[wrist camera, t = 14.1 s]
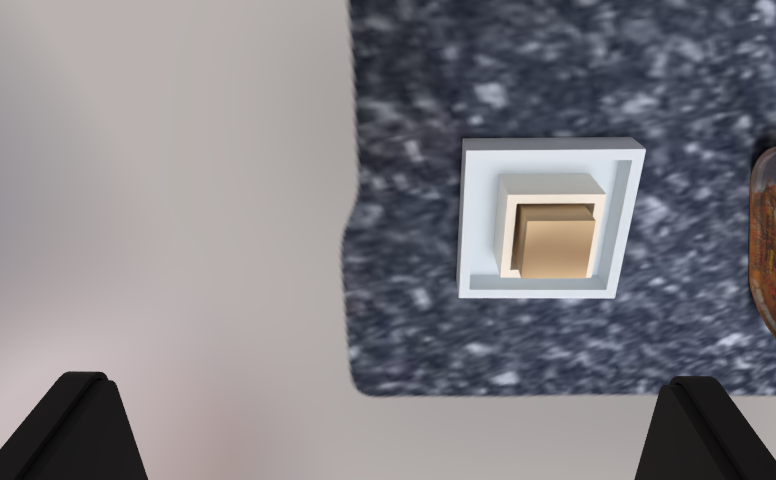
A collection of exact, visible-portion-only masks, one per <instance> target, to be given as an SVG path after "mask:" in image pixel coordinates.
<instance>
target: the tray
mask: <svg viewBox="0 0 776 480" xmlns="http://www.w3.org/2000/svg"><path fill="white" fill-rule="evenodd" d="M645 152H646V149H645V148H644V147H643V146H642V145H640V144H639V143H638V142H637V141H636V140H634V139H633V138H632V137H569V138H463V143H462V165H461V187H460V209H459V230H458V252H457V274H456V281H457V288H458V295H459V298H615V294H616V289H617V285H618V280H619V275H620V270H621V266H622V261H623V256H624V251H625V247H626V242H627V237H628V232H629V228H630V223H631V218H632V213H633V209H634V204H635V199H636V194H637V190H638V185H639V180H640V175H641V171H642V166H643V161H644V156H645ZM499 174H590V175H591V176H592V177H593V178H594V180H595V181H596V182H597V183H598V184H599V186H600V187H601V188H602V189H603V191H604V192H605V193H606V194H607V195H606V200H605V206H604V211H603V216H602V222H601V227H600V233H599V238H598V244H597V249H596V255H595V260H594V266H593V271H592V277H591V278H500V275H499V271H498V268H497V264H496V261H495V257H494V253H493V247H494V235H495V223H496V210H497V198H498V186H499Z"/></svg>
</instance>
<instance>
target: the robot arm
mask: <svg viewBox="0 0 776 480" xmlns="http://www.w3.org/2000/svg"><path fill="white" fill-rule="evenodd" d="M0 480H148V478H147V475H146V472H145V469H144V466H143V463H142V460H141V457H140V454H139V451H138V448H137V445H136V442H135V439H134V436H133V433H132V430H131V427H130V424H129V421H128V418H127V415H126V412H125V409H124V406H123V403H122V400H121V397H120V394H119V391H118V388H117V385H116V383H115V382H114V381H111V380H108V378H107V376H106V375H105V374H104V373H103V372H66V373H64V374H63V375H62V376H61V377H59V379H58V380H57V381H56V382H55V383H54V385H53V386H52V387H51V388H50V389H49V391H48V392H47V393H46V394H45V396H44V397H43V398H42V399H41V400H40V402H39V403H38V404H37V405H36V407H35V408H34V409H33V410H32V411H31V413H30V414H29V415H28V416H27V417H26V419H25V420H24V421H23V422H22V424H21V425H20V426H19V427H18V428H17V430H16V431H15V432H14V433H13V434H12V436H11V437H10V438H9V439H8V441H7V442H6V443H5V444H4V445H3V447H2V448H1V449H0ZM635 480H776V460H775V459H774V457H773V456H772V455H771V453H770V452H769V450H768V449H767V448H766V446H765V445H764V444H763V442H762V441H761V439H760V438H759V437H758V435H757V434H756V433H755V431H754V430H753V428H752V427H751V426H750V424H749V423H748V422H747V420H746V419H745V417H744V416H743V415H742V413H741V412H740V410H739V409H738V408H737V406H736V405H735V403H734V402H733V401H732V399H731V398H730V397H729V395H728V394H727V392H726V391H725V390H724V388H723V387H722V385H721V384H720V383H719V382H718V381H717V380H716V379H715V378H713V377H711V376H676V377H674V378H673V379H672V380H671V382H670V384H669V385H663V386H662V387H661V389H660V391H659V395H658V399H657V402H656V406H655V409H654V413H653V416H652V420H651V423H650V427H649V430H648V434H647V437H646V441H645V444H644V448H643V451H642V455H641V458H640V462H639V466H638V469H637V473H636V476H635Z"/></svg>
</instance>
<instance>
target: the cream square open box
mask: <svg viewBox="0 0 776 480" xmlns="http://www.w3.org/2000/svg"><path fill="white" fill-rule="evenodd" d="M606 195H607V194H606V193H605V192H604V191H603V189H602V188H601V187H600V186H599V184H598V183H597V182H596V181H595V180H594V178H593V177H592V176H591V175H590V174H499V186H498V198H497V210H496V223H495V235H494V247H493V253H494V257H495V261H496V264H497V268H498V271H499V275H500V278H521V276H520V273H519V270H518V267H517V264H516V261H515V259H514V256H513V253H512V246H513V236H514V226H515V216H516V206H517V204H542V203H584V205H585V206H586V208H587V209H588V210H589V212H590V213H591V215H592V216H593V218H594V219H595V220H596V222H595V228H594V234H593V240H592V245H591V251H590V257H589V263H588V269H587V274H586V278H591V277H592V271H593V266H594V260H595V255H596V249H597V244H598V238H599V233H600V227H601V222H602V216H603V211H604V206H605V200H606Z"/></svg>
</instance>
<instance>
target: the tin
mask: <svg viewBox="0 0 776 480" xmlns="http://www.w3.org/2000/svg"><path fill="white" fill-rule="evenodd" d="M749 216H750V222H749V229H750V230H749V282H750V287H751V291H752V295H753V299H754V301H755V304H756V307H757V309H758V311H759V313H760V315H761V317H762V319H763V321H764V322H765V324H766V326H767V327H768V329H769V330H770V332H771V333H772V334H773V336H774V337H775V338H776V146H775V147H772V148H770V149H768V150H766V151H765V152H764V153H763V154H762V155H761V156H760V157H759V158H758V160H757V161H756V163H755V165H754V168H753V170H752V174H751V179H750V215H749Z"/></svg>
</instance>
